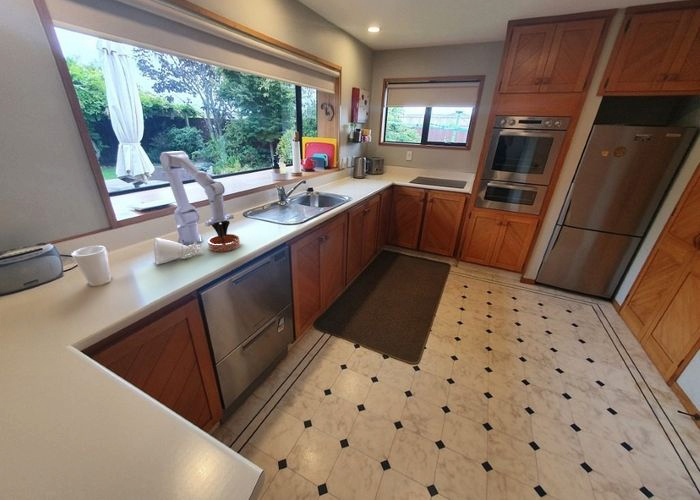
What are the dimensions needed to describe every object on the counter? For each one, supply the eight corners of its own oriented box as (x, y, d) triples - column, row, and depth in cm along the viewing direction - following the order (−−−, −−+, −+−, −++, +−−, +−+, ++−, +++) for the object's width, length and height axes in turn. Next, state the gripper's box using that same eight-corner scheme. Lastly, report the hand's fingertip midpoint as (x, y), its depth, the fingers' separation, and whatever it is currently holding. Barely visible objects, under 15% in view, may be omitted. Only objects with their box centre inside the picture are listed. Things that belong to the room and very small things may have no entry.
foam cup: (91, 277, 109) (79, 247, 104) (119, 274, 113) (109, 244, 107) (79, 289, 101) (65, 257, 96) (110, 285, 104) (99, 254, 99)
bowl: (211, 254, 131) (210, 246, 130) (207, 244, 142) (205, 236, 141) (243, 248, 139) (241, 241, 137) (236, 239, 149) (235, 232, 148)
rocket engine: (202, 232, 130) (156, 232, 118) (207, 254, 126) (159, 256, 114) (197, 245, 138) (153, 246, 126) (201, 266, 134) (156, 269, 122)
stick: (222, 243, 136) (218, 224, 132) (221, 242, 137) (218, 223, 133) (225, 243, 137) (222, 223, 133) (225, 241, 138) (222, 222, 134)
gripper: (210, 214, 123) (215, 242, 128) (236, 206, 135) (240, 233, 140) (199, 211, 126) (205, 239, 131) (226, 204, 137) (230, 230, 143)
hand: (222, 236), depth 136 cm, fingers closed on stick, 2 cm apart
